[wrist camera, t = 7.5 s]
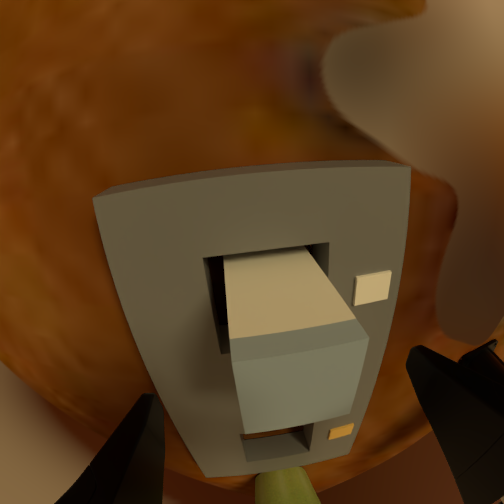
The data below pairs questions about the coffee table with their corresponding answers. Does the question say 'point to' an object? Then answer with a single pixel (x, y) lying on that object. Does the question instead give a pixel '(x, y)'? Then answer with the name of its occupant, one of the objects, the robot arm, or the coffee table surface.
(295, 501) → the plant pot
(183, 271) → the panel board
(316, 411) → the plug
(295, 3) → the coffee table surface
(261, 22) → the coffee table surface
